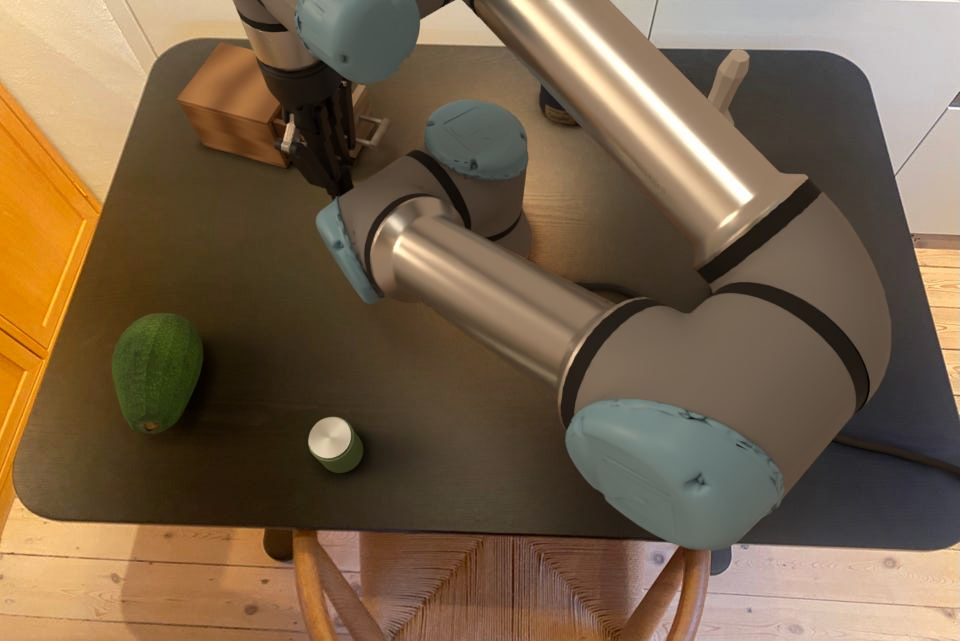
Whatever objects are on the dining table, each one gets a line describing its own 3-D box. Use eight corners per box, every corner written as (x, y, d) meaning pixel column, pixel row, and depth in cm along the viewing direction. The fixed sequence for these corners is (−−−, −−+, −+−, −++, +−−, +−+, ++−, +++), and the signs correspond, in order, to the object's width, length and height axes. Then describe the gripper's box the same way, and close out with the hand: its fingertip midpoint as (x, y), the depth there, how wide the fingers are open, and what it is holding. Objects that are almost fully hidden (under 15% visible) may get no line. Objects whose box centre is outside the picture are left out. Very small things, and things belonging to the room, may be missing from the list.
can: (370, 438, 74) (360, 423, 69) (352, 479, 72) (341, 466, 66) (331, 425, 75) (319, 409, 69) (313, 465, 73) (298, 451, 67)
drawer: (402, 131, 96) (396, 93, 89) (374, 185, 91) (365, 149, 84) (298, 104, 98) (284, 65, 91) (265, 155, 94) (247, 118, 87)
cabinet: (321, 111, 99) (306, 63, 90) (286, 168, 94) (266, 122, 85) (242, 91, 101) (220, 41, 92) (203, 145, 96) (176, 98, 87)
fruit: (203, 442, 74) (164, 417, 65) (122, 443, 74) (72, 419, 65) (223, 331, 81) (191, 295, 72) (149, 333, 81) (107, 297, 72)
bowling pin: (655, 172, 93) (701, 51, 73) (684, 153, 95) (737, 30, 75) (685, 199, 91) (741, 81, 71) (714, 178, 92) (777, 58, 73)
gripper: (293, -7, 59) (343, 158, 80) (222, 82, 54) (295, 234, 75) (362, 11, 58) (394, 174, 79) (296, 104, 52) (350, 252, 74)
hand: (346, 203), depth 77 cm, fingers closed
